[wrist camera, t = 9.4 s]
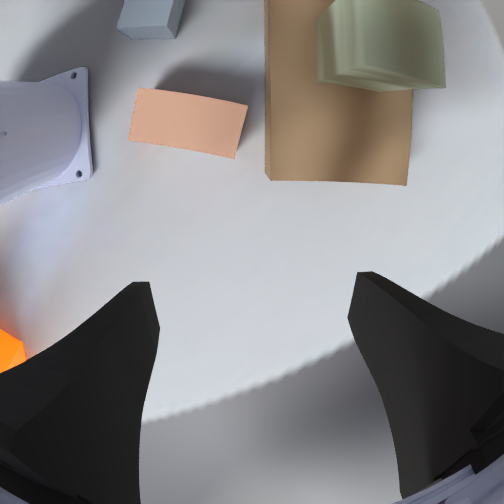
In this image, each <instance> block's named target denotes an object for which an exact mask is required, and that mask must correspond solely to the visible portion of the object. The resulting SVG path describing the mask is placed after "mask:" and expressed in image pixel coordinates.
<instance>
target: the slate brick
mask: <svg viewBox="0 0 504 504" xmlns="http://www.w3.org/2000/svg"><path fill="white" fill-rule="evenodd" d="M184 4H185V0H125V1H124V4H123V7H122V10H121V14H120V17H119V21H118V24H117V29H118V30H119V31H121V32H122V33H124V34H125V35H126V36H128V37H129V38H130V39H176V35H177V31H178V27H179V23H180V19H181V15H182V11H183V8H184Z"/></svg>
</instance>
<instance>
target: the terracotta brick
mask: <svg viewBox="0 0 504 504" xmlns="http://www.w3.org/2000/svg"><path fill="white" fill-rule="evenodd" d="M247 109H248V106H247V105H243V104H239V103H234V102H230V101H225V100H220V99H215V98H210V97H204V96H199V95H193V94H186V93H180V92H173V91H165V90H157V89H147V88H139V89H138V93H137V97H136V101H135V106H134V111H133V115H132V120H131V126H130V131H129V136H128V140H130V141H137V142H144V143H151V144H158V145H164V146H170V147H176V148H182V149H187V150H193V151H198V152H203V153H208V154H213V155H218V156H223V157H227V158H232V159H234V158H235V154H236V151H237V147H238V143H239V139H240V135H241V131H242V127H243V124H244V120H245V116H246V112H247Z"/></svg>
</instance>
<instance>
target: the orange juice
mask: <svg viewBox="0 0 504 504" xmlns="http://www.w3.org/2000/svg"><path fill="white" fill-rule="evenodd" d="M25 361H26V356H25V351H24V346H23V342H21V341H19V340H17V339H16V338H14V337H12V336H11V335H9V334H7V333H6V332H4V331H2V330H1V329H0V373H1V372H3V371H6V370H8V369H10V368H12V367H14V366H17V365H19V364H21V363H23V362H25Z"/></svg>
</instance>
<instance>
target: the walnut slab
mask: <svg viewBox="0 0 504 504" xmlns="http://www.w3.org/2000/svg"><path fill="white" fill-rule="evenodd" d="M334 1H335V0H264V11H265V173H266V175H267V176H268V178H269V179H270V181H337V182H360V183H377V184H391V185H404V186H406V184H407V176H408V167H409V157H410V145H411V130H412V99H413V89H408V90H395V91H384V92H378V91H373V90H368V89H362V88H357V87H351V86H344V85H338V84H330V83H322V82H317V60H316V25H315V20H316V19H317V18H318V17H319V16H320V15H321V14H322V13H323V12H324V11H325V10H326V9H327V8H328V7H329V6H330V5H331V4H332V3H333V2H334Z"/></svg>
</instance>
